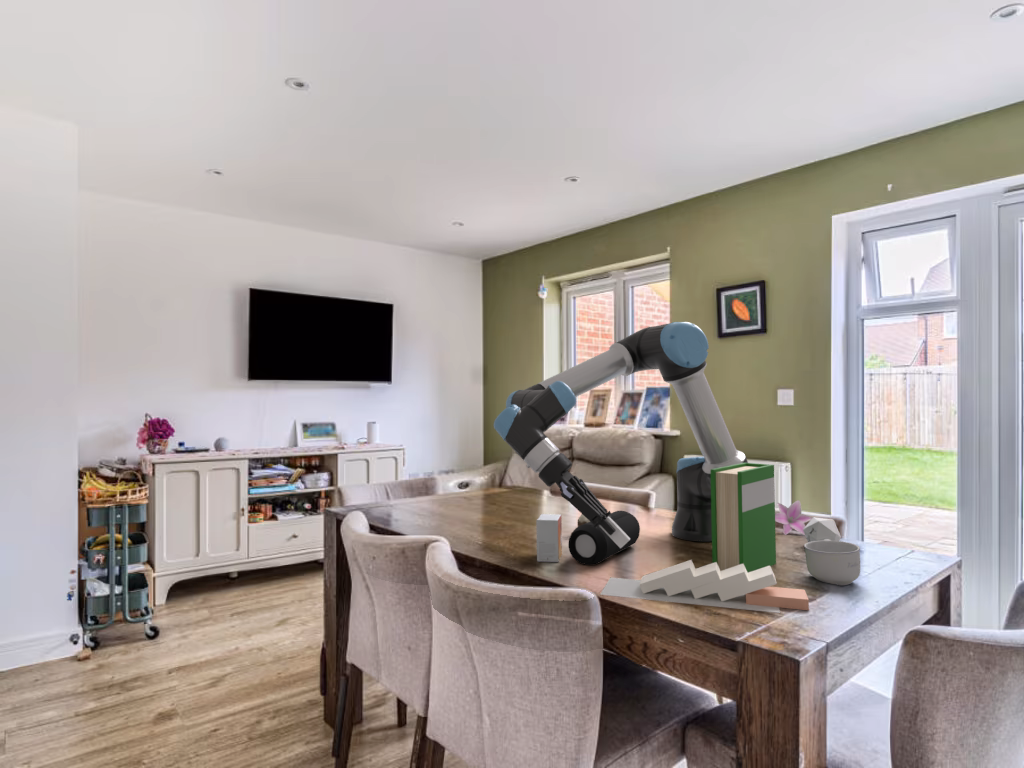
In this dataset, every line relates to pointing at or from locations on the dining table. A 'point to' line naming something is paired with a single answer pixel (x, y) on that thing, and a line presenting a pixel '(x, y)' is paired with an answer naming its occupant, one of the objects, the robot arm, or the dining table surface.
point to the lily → (791, 517)
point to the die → (821, 530)
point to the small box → (549, 537)
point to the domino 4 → (750, 583)
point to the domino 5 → (779, 598)
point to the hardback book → (743, 516)
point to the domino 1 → (667, 576)
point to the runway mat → (677, 596)
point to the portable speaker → (601, 539)
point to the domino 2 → (696, 579)
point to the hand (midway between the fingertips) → (625, 543)
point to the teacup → (833, 561)
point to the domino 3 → (723, 581)
